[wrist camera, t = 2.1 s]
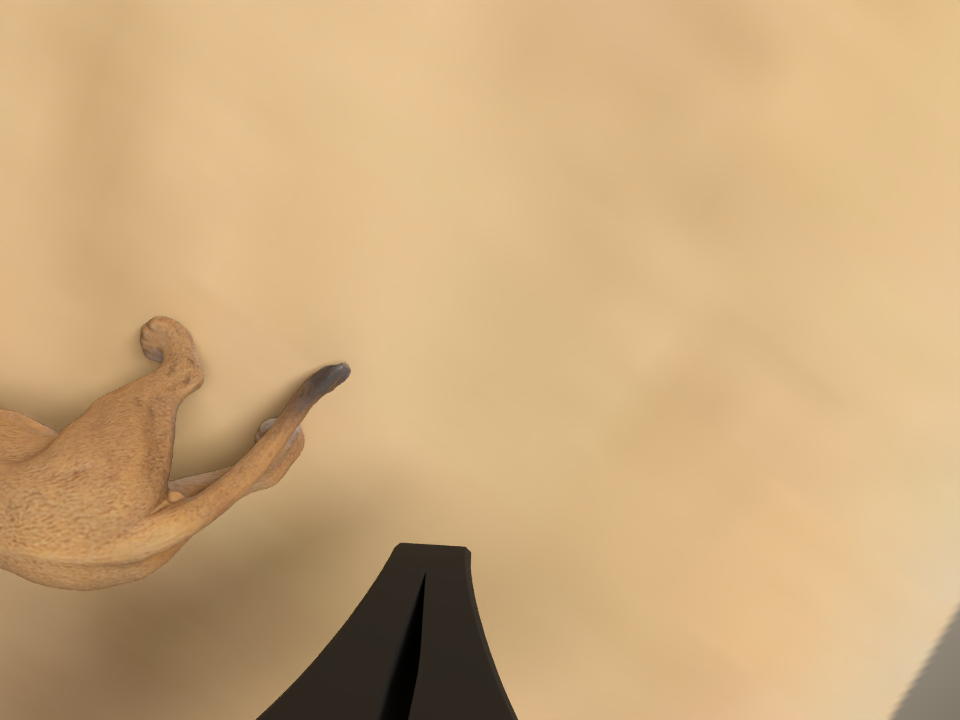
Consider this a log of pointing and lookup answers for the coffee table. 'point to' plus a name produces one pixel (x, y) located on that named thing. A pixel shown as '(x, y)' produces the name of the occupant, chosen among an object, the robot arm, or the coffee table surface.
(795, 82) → the coffee table surface
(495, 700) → the robot arm
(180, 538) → the lion figurine
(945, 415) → the coffee table surface
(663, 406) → the coffee table surface
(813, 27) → the coffee table surface
